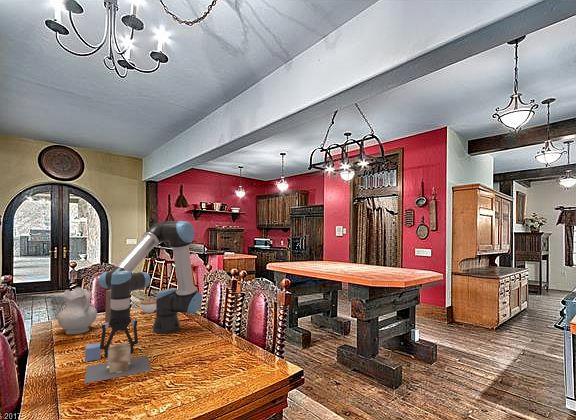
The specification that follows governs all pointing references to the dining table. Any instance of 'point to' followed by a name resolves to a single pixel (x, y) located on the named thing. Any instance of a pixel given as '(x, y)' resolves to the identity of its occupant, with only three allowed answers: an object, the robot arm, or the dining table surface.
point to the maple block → (119, 357)
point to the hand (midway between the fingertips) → (118, 363)
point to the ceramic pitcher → (77, 312)
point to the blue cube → (92, 352)
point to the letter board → (102, 372)
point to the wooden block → (108, 305)
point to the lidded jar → (148, 306)
